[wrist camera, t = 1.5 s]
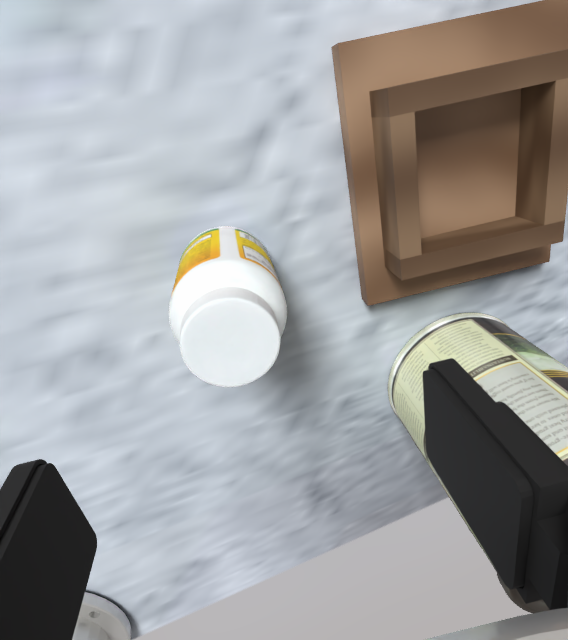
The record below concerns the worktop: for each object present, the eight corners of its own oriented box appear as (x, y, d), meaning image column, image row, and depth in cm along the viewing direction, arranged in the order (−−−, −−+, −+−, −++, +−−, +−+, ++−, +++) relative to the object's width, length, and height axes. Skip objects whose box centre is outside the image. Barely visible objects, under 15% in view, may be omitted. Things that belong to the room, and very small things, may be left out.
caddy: (536, 256, 28) (579, 274, 25) (361, 298, 28) (382, 322, 24) (555, 0, 22) (616, -21, 19) (331, 47, 21) (353, 33, 18)
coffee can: (532, 304, 30) (768, 438, 17) (504, 422, 34) (675, 598, 22) (391, 317, 29) (534, 472, 16) (380, 438, 33) (486, 635, 20)
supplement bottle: (273, 226, 25) (306, 283, 16) (267, 311, 27) (293, 400, 18) (177, 222, 24) (159, 279, 15) (179, 310, 26) (163, 403, 18)
